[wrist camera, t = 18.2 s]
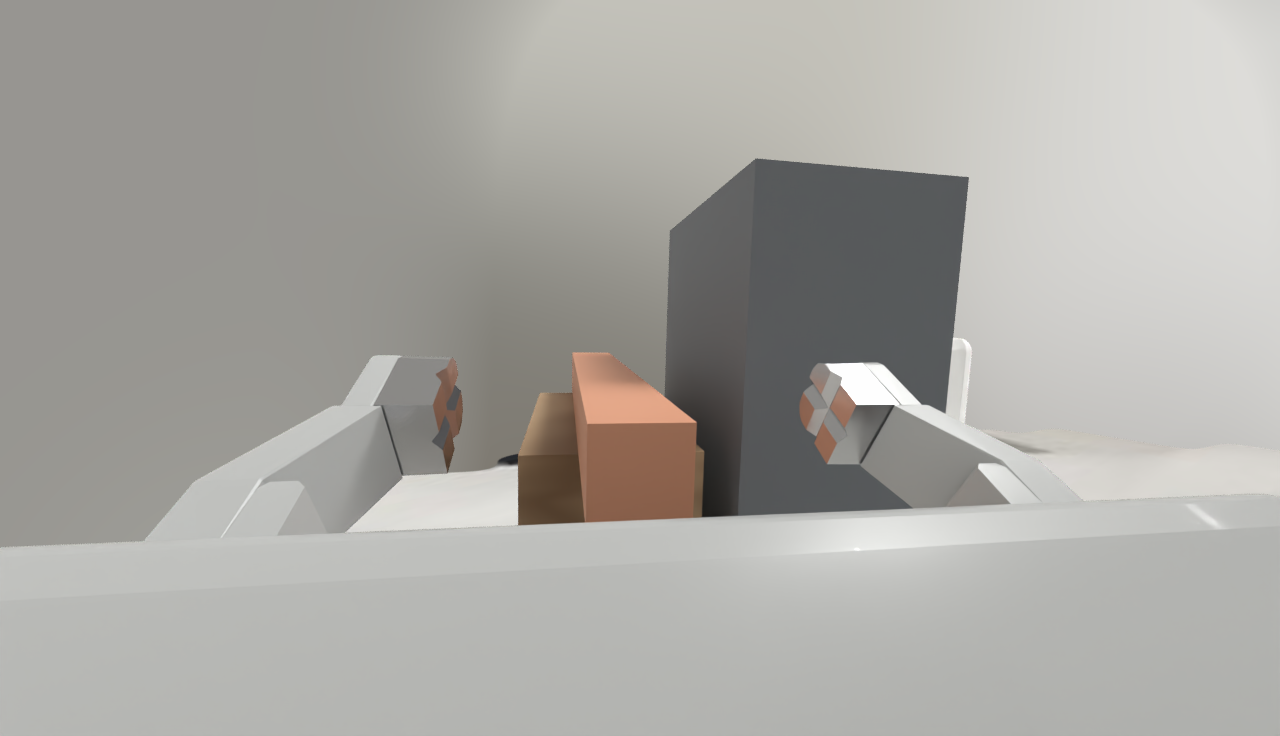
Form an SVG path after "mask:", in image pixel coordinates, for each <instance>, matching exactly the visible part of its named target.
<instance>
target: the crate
mask: <svg viewBox="0 0 1280 736" xmlns="http://www.w3.org/2000/svg"><path fill="white" fill-rule="evenodd" d="M703 472H704V451H703V450H702V449H701V448H700V447H699V446H698V445H697V444H696V456H695V481H694V507H693V518H700V517H702V496H703ZM562 523H585V518H584V508H583V498H582V487H581V477H580V466H579V456H578V445H577V435H576V424H575V414H574V403H573V393H540V395H539V397H538V400H537V403H536V406H535V409H534V412H533V415H532V417H531V421H530V423H529V426H528V429H527V432H526V435H525V438H524V441H523V443H522V446H521V449H520V452H519V455H518V525H538V524H562Z"/></svg>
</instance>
